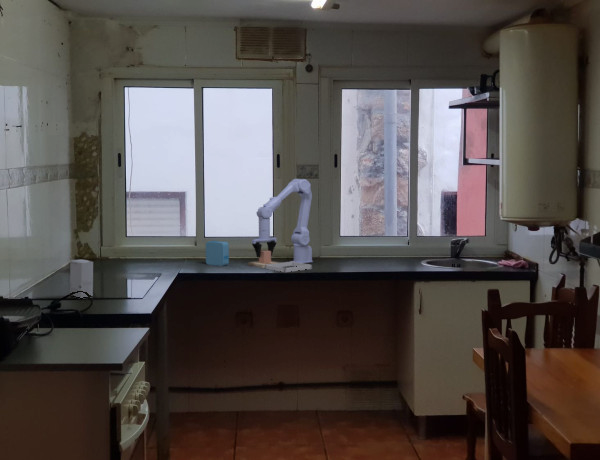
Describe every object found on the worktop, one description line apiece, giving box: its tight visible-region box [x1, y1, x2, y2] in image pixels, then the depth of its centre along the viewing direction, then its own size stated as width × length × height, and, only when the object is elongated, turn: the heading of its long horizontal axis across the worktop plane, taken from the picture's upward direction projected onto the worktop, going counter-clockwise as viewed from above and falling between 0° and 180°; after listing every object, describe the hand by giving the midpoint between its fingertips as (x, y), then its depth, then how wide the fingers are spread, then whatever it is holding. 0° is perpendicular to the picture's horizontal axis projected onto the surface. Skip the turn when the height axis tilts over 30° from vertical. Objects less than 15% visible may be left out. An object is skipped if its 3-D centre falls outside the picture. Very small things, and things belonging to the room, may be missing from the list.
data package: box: [205, 240, 230, 267], centre depth 400 cm, size 12×4×12 cm, turn 56°
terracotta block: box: [258, 249, 272, 263], centre depth 397 cm, size 4×4×6 cm
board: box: [247, 260, 281, 269], centre depth 398 cm, size 12×12×2 cm
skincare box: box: [69, 259, 94, 299], centre depth 311 cm, size 8×6×15 cm
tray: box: [264, 261, 313, 273], centre depth 386 cm, size 18×16×2 cm
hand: (264, 256), depth 397 cm, fingers open, 7 cm apart
